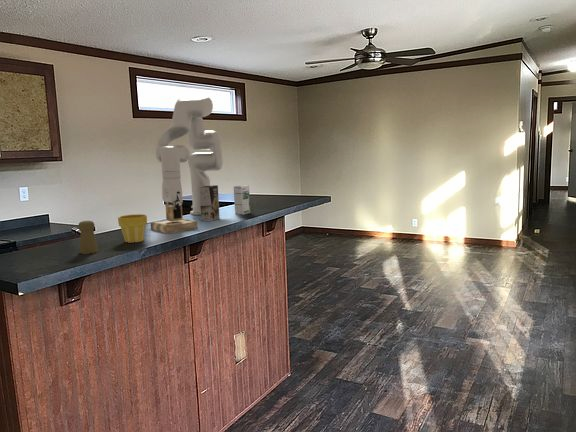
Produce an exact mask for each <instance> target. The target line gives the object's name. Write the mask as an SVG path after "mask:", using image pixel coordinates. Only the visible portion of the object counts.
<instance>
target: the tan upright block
mask: <svg viewBox="0 0 576 432" xmlns="http://www.w3.org/2000/svg"><path fill="white" fill-rule="evenodd" d="M176 205H177V204H176ZM164 206H165V217H166V218H165V219H166V220H165V221H172V222H173V221H180V220H183V219H182V218H184V217H183V204H182V205H181V218H178V219H174V211H173V210H174V205H173V203H172V204H166V203H164Z"/></svg>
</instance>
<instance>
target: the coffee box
mask: <svg viewBox="0 0 576 432" xmlns="http://www.w3.org/2000/svg"><path fill="white" fill-rule="evenodd" d="M199 188H200V208H201V215H200V221H201V222H214V221H216V220H219V219H220V217H221V216H220V203H219V185H210V186H203V187H199Z"/></svg>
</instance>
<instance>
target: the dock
mask: <svg viewBox="0 0 576 432" xmlns="http://www.w3.org/2000/svg"><path fill="white" fill-rule="evenodd" d="M182 219H183V220H180V221H173V222H172V221H167V220H162V221H151V222H150V230H153V231H157V232H161V233H165V234H174V233H178V232H179V233H180V232H185V231H191V230H198V227H199V226H198V221H197V220H194V219H189V218H184V217H183V218H182Z"/></svg>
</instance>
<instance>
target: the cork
mask: <svg viewBox="0 0 576 432" xmlns="http://www.w3.org/2000/svg"><path fill="white" fill-rule="evenodd" d="M95 226H96V225H95V223H94V221H93V220H83V221H80V222H79V223H78V226H77V227H78V230H79V231H80V235H79V236H80V237H79V239H80V241H79V254H80V253H82V254H81V255H90V254H89V253H92V254H96V253H98V252H99V248H98V244H97V241H96V236H95V232H94V229H95ZM95 252H96V253H95Z"/></svg>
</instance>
